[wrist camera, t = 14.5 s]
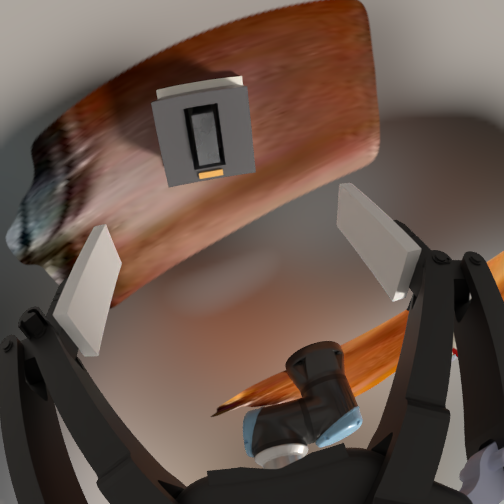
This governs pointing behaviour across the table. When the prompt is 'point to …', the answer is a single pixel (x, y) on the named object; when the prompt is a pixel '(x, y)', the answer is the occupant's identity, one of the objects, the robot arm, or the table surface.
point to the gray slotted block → (181, 141)
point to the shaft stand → (203, 118)
